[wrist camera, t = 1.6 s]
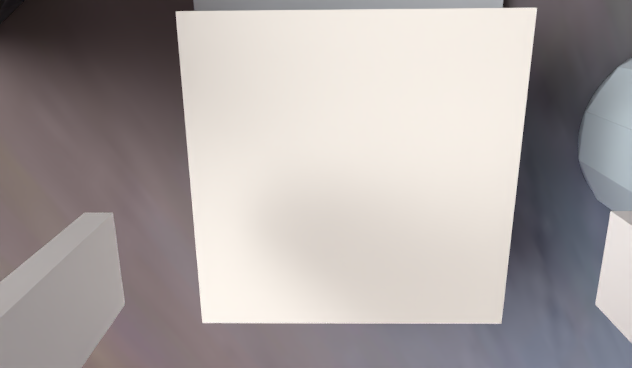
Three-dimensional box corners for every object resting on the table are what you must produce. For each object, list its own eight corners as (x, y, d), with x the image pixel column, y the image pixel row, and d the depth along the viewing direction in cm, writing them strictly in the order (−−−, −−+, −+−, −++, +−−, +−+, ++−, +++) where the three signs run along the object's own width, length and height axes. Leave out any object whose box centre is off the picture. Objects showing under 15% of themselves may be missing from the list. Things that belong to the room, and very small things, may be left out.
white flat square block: (186, 10, 19) (175, 11, 18) (521, 7, 19) (537, 7, 18) (210, 303, 23) (202, 322, 22) (490, 304, 23) (501, 323, 21)
